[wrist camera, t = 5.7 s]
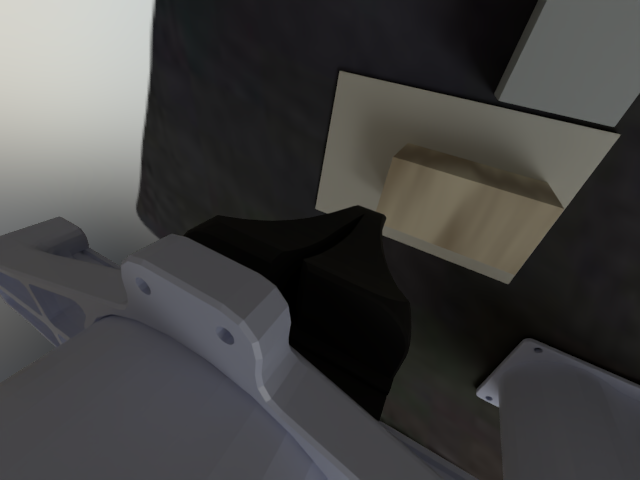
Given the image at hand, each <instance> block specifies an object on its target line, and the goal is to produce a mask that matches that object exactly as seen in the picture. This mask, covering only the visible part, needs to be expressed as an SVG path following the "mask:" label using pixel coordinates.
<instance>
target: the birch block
mask: <svg viewBox="0 0 640 480" xmlns="http://www.w3.org/2000/svg"><path fill="white" fill-rule="evenodd" d="M563 210H564V207H563V206H562V204H561V203H560V201H559V200H558V198H557V196H556V195H555V193H554V192H553V190H552V189H551V187H550V186H549V184H548V183H547V182H544V181H540V180H537V179H533V178H530V177H526V176H523V175H519V174H516V173H512V172H509V171H505V170H502V169H498V168H495V167H491V166H488V165H484V164H481V163H477V162H474V161H470V160H467V159H463V158H460V157H456V156H453V155H449V154H446V153H442V152H439V151H435V150H432V149H428V148H425V147H421V146H418V145H414V144H411V143H407V144H406V145H405V146H404V147H403V148H402V149H401V150H400V151H399V152H398V153H397V154H396V155H395V156H393V159H392V162H391V165H390V168H389V171H388V175H387V178H386V181H385V184H384V187H383V190H382V193H381V197H380V200H379V203H378V206H377V209H376V212H379V213H381V214H384V215H385V216H386V221H385V224H384V226H387V227H390V228H392V229H395V230H398V231H400V232H403V233H405V234H408V235H411V236H413V237H416V238H419V239H421V240H424V241H426V242H429V243H432V244H434V245H437V246H440V247H442V248H445V249H447V250H450V251H453V252H455V253H458V254H461V255H463V256H466V257H468V258H471V259H474V260H476V261H479V262H482V263H484V264H487V265H490V266H492V267H495V268H497V269H500V270H503V271H505V272H508V273H511V274H513V275H515V274H516V273H517V272H518V270H519V269H520V268H521V266H522V265H523V264H524V262H525V261H526V260H527V258H528V257H529V256H530V254H531V253H532V252H533V250H534V249H535V248H536V246H537V245H538V244H539V242H540V241H541V240H542V238H543V237H544V236H545V234H546V233H547V232H548V230H549V229H550V228H551V226H552V225H553V224H554V222H555V221H556V220H557V218H558V217H559V216H560V214H561V213H562V212H563Z"/></svg>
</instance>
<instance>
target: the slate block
mask: <svg viewBox="0 0 640 480" xmlns="http://www.w3.org/2000/svg"><path fill="white" fill-rule="evenodd" d="M639 93H640V0H538V2H537V4H536V6H535V8H534V10H533V12H532V14H531V17H530V19H529V21H528V23H527V25H526V27H525V29H524V31H523V33H522V36H521V38H520V40H519V42H518V44H517V46H516V48H515V50H514V53H513V55H512V57H511V59H510V61H509V63H508V65H507V67H506V70H505V72H504V74H503V76H502V78H501V80H500V82H499V84H498V86H497V89H496V91H495V93H494V95H495V97H496V98H497V100H498V101H502V102H506V103H511V104H515V105H520V106H524V107H528V108H533V109H537V110H541V111H546V112H550V113H555V114H559V115H563V116H568V117H572V118H577V119H581V120H585V121H590V122H594V123H598V124H603V125H607V126H612V127H615V126H616V124H617V123H618V121H619V120H620V119H621V117H622V116H623V115H624V113H625V112H626V111H627V109H628V108H629V107H630V105H631V104H632V102H633V101H634V100H635V98H636V97H637V96H638V94H639Z"/></svg>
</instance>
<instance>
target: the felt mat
mask: <svg viewBox="0 0 640 480" xmlns="http://www.w3.org/2000/svg"><path fill="white" fill-rule="evenodd" d="M619 136H620V134H617V133H612V132H608V131H603V130H599V129H595V128H590V127H586V126H581V125H577V124H573V123H568V122H564V121H559V120H555V119H551V118H546V117H542V116H537V115H533V114H529V113H524V112H520V111H515V110H511V109H507V108H502V107H498V106H493V105H489V104H485V103H480V102H476V101H471V100H467V99H462V98H458V97H454V96H449V95H445V94H440V93H436V92H432V91H427V90H423V89H418V88H414V87H410V86H405V85H401V84H396V83H392V82H388V81H383V80H379V79H374V78H370V77H366V76H361V75H357V74H352V73H348V72H344V71H339V77H338V83H337V88H336V94H335V100H334V105H333V111H332V117H331V123H330V128H329V134H328V140H327V145H326V151H325V157H324V162H323V168H322V174H321V179H320V185H319V191H318V196H317V202H316V208H315V209H317V210H320V211H322V212H325V213H327V214H329V213H332V212H336V211H339V210H342V209H345V208H349V207H352V206H356V205H360V206H362V207H365V208H368V209H370V210H373V211H376V209H377V206H378V203H379V200H380V197H381V193H382V190H383V187H384V184H385V181H386V178H387V175H388V171H389V168H390V165H391V162H392V159H393V156H395V155H396V154H397V153H398V152H399V151H400V150H401V149H402V148H403V147H404V146H405V145H406V144H407V143H411V144H414V145H418V146H421V147H425V148H428V149H432V150H435V151H439V152H442V153H446V154H449V155H453V156H456V157H460V158H463V159H467V160H470V161H474V162H477V163H481V164H484V165H488V166H491V167H495V168H498V169H502V170H505V171H509V172H512V173H516V174H519V175H523V176H526V177H530V178H533V179H537V180H540V181H544V182H547V183H548V184H549V186H550V187H551V189H552V190H553V192H554V193H555V195H556V196H557V198H558V200H559V201H560V203H561V204H562V206H563V207H564V210H565V208H566V207H567V206H568V204H569V203H570V202H571V200H572V199H573V198H574V196H575V195H576V194H577V192H578V191H579V190H580V188H581V187H582V186H583V184H584V183H585V182H586V180H587V179H588V178H589V176H590V175H591V174H592V172H593V171H594V170H595V168H596V167H597V166H598V164H599V163H600V162H601V160H602V159H603V158H604V156H605V155H606V154H607V152H608V151H609V150H610V148H611V147H612V146H613V144H614V143H615V142H616V140H617V139H618V138H619ZM564 210H563V211H564ZM561 214H562V213H561ZM561 214H560V215H561ZM557 219H558V218H557ZM554 223H555V222H554ZM551 227H552V226H551ZM548 231H549V230H548ZM382 235H384V236H386V237H389V238H391V239H394V240H396V241H399V242H401V243H404V244H407V245H409V246H412V247H414V248H417V249H419V250H422V251H424V252H427V253H430V254H432V255H435V256H437V257H440V258H442V259H445V260H447V261H450V262H453V263H455V264H458V265H460V266H463V267H465V268H468V269H470V270H473V271H475V272H478V273H481V274H483V275H486V276H488V277H491V278H493V279H496V280H498V281H501V282H504V283H506V284H509V283H510V281H511V280H512V279H513V277H514V276H515V275H516V274H515V275H513V274H511V273H508V272H505V271H503V270H500V269H497V268H495V267H492V266H490V265H487V264H484V263H482V262H479V261H476V260H474V259H471V258H468V257H466V256H463V255H461V254H458V253H455V252H453V251H450V250H447V249H445V248H442V247H440V246H437V245H434V244H432V243H429V242H426V241H424V240H421V239H419V238H416V237H413V236H411V235H408V234H405V233H403V232H400V231H398V230H395V229H392V228H390V227H387V226H384V227H383V230H382ZM545 235H546V234H545ZM542 239H543V238H542ZM539 243H540V242H539ZM536 247H537V246H536ZM533 251H534V250H533ZM530 255H531V254H530ZM527 259H528V258H527ZM524 263H525V262H524ZM521 267H522V266H521ZM518 271H519V270H518Z"/></svg>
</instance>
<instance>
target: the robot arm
mask: <svg viewBox="0 0 640 480" xmlns="http://www.w3.org/2000/svg"><path fill="white" fill-rule="evenodd" d="M385 221H386V216H385V215H384V214H381V213H379V212H376V211H373V210H370V209H368V208H365V207H362V206H360V205H356V206H352V207H349V208H345V209H342V210H339V211H336V212H332V213H329V214H324V215H320V216H316V217H311V218H305V219H297V220H282V221H261V220H247V219H239V218H232V217H225V216H219V215H217V216H215V217H213V218H211V219H209V220H207V221H206V222H204V223H202V224H200V225H198V226H196V227H194V228H192V229H190V230H188V231H187V232H186V234H185V235H184V236H179V235H175V234H170V235H168V236H166V237H164V238H162V239H160V240H158V241H156V242H154V243H152V244H150V245H148V246H146V247H144V248H142V249H140V250H139V251H136V252H134V253H132V254H130V255H129V256H127V257H126V258H125V259H124V260H123V261H122V263H121V266H119V265H117V264H116V263H114V262H112V261H111V260H109V259H107V258H106V257H104V256H102V255H100V254H99V253H97V252H95V251H94V250H92V249H90V248H89V244H88V240H87V238H86V236H85V234H84V232H83V231H82V230H81V229H80V228H79V227H78V226H76V225H74V224H72V223H71V222H69V221H67V220H65V219H64V218H62V217H56V218H54V219H50V220H47V221H45V222H41V223H38V224H35V225H32V226H29V227H26V228H23V229H20V230H17V231H14V232H11V233H8V234H5V235H2V236H0V296H1V297H2V299H3V300H4V302H5V303H6V304H7V305H8V306H10V307H11V308H12V309H13V310H14V311H16V312H17V313H18V314H19V315H20V316H22V317H23V318H24V319H25V320H26V321H27V322H29V323H30V324H31V325H32V326H33V327H34V328H35V329H37V330H38V331H39V332H40V333H41V334H42V335H43V336H44V337H45V338H47V339H48V340H49V341H50V342H51V343H52V344H53V345H54V346H55V347H56V348H55V349H53V350H52V351H50V352H49V353H47V354H45V355H44V356H42V357H41V358H39V359H38V360H36V361H34V362H33V363H31V364H30V365H28V366H26V367H25V368H23V369H22V370H20V371H18V372H17V373H15V374H14V375H12V376H11V377H9V378H8V379H6V380H4V381H3V382H1V383H0V480H479V479H477V478H475V477H474V476H472V475H470V474H468V473H467V472H465V471H463V470H462V469H460V468H458V467H457V466H455V465H453V464H452V463H450V462H448V461H447V460H445V459H443V458H442V457H440V456H438V455H437V454H435V453H433V452H432V451H430V450H428V449H426V448H425V447H423V446H421V445H420V444H418V443H416V442H415V441H413V440H411V439H410V438H408V437H406V436H405V435H403V434H401V433H400V432H398V431H396V430H395V429H393V428H391V427H390V426H388V425H386V424H384V423H383V422H381V421H379V420H380V417H381V413H382V410H383V407H384V403H385V400H386V396H387V395H388V393H389V391H390V389H391V385H392V382H393V378H394V376H395V375H396V373H397V371H398V370H399V368H400V366H401V364H402V363H403V361H404V359H405V358H406V355H407V353H408V350H409V346H410V339H411V309H410V303H409V301H408V300H407V299H406V297H405V296H404V295H403V293H402V292H401V291H400V290H399V288H398V287H397V285H396V284H395V282H394V280H393V278H392V276H391V274H390V271H389V269H388V266H387V263H386V260H385V256H384V250H383V242H382V230H383V227H384V224H385ZM535 348H541V349H535ZM476 394H477V396H478V397H480V398H481V399H483V400H485V401H487V402H489V403H491V404H493V405H495V406H497V407H499V412H500V429H501V446H502V463H503V480H640V385H638V384H636V383H634V382H631V381H629V380H627V379H624V378H622V377H620V376H617V375H615V374H613V373H611V372H608V371H606V370H604V369H601V368H599V367H597V366H594V365H592V364H590V363H587V362H585V361H583V360H581V359H578V358H576V357H574V356H571V355H569V354H567V353H564V352H562V351H560V350H557V349H555V348H553V347H550V346H548V345H546V344H544V343H541V342H539V341H537V340H534V339H531V338H526V339H524V340H522V341H521V342H520V343H519V344H518V346H517V347H516V348H515V349H514V350H513V351H512V352H511V353H510V354H509V355H508V356H507V357H506V358H505V359H504V360H503V361H502V363H501V364H500V365H499V366H498V367H497V368H496V369H495V370H494V371H493V372H492V373H491V374H490V375H489V376H488V377H487V379H486V380H485V381H484V382H483V383H482V384H481V385H480V386H479V387H478V388H477V390H476Z"/></svg>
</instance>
